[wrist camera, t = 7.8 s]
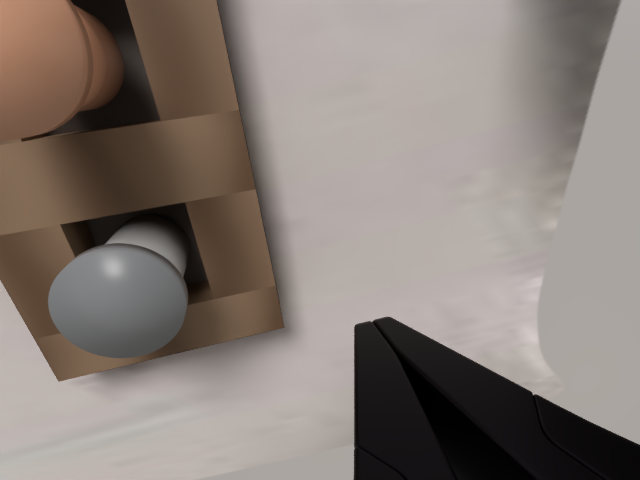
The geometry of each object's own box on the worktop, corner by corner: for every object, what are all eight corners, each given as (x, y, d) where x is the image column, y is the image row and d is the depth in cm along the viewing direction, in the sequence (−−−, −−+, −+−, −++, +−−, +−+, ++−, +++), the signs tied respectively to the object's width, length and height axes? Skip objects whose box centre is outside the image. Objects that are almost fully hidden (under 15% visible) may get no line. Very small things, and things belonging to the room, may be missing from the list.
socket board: (194, -106, 14) (186, -142, 12) (279, 304, 23) (284, 327, 20) (-148, -86, 13) (-231, -124, 10) (77, 350, 21) (58, 381, 19)
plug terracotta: (113, -20, 13) (32, -93, 8) (153, 114, 15) (109, 125, 10) (-30, -8, 13) (-218, -78, 7) (32, 132, 15) (-83, 154, 9)
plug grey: (185, 197, 18) (165, 239, 13) (209, 277, 20) (199, 342, 15) (87, 215, 18) (23, 267, 12) (121, 296, 20) (79, 370, 14)
